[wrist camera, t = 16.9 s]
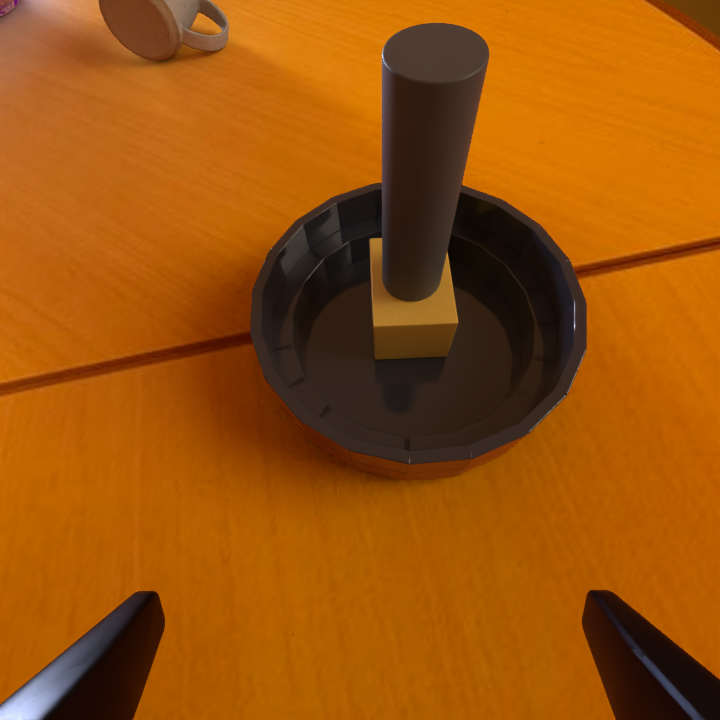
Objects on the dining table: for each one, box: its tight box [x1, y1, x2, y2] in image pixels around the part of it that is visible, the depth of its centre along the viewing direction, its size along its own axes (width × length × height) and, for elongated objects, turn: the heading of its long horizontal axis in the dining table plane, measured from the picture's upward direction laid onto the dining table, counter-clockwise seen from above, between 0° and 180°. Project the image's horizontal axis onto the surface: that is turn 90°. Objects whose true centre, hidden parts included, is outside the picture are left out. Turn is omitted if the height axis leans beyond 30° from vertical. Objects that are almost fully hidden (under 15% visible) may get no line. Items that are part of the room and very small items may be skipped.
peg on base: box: [369, 23, 489, 360], centre depth 19 cm, size 6×4×15 cm
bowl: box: [250, 183, 587, 481], centre depth 23 cm, size 17×17×5 cm
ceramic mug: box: [99, 0, 229, 61], centre depth 39 cm, size 11×8×8 cm
